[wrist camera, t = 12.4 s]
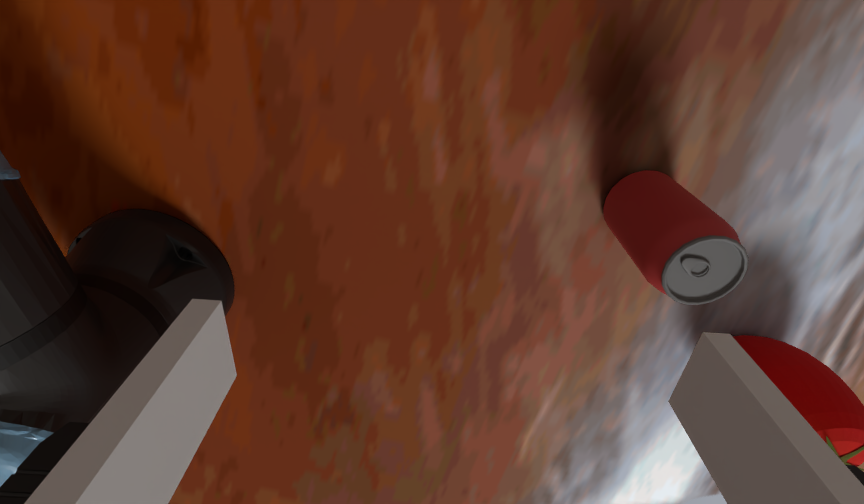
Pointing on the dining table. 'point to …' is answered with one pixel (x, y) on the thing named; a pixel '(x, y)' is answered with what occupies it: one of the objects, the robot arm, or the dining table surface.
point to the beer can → (675, 238)
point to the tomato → (813, 394)
